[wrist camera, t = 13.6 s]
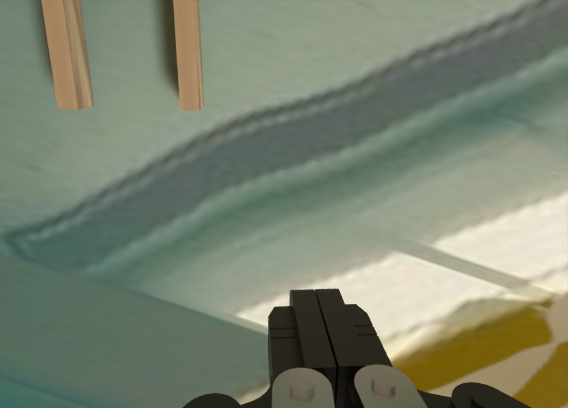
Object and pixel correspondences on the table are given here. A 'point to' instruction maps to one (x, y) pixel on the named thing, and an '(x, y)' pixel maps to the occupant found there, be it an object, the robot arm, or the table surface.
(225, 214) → the table surface
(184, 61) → the channel
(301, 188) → the table surface
